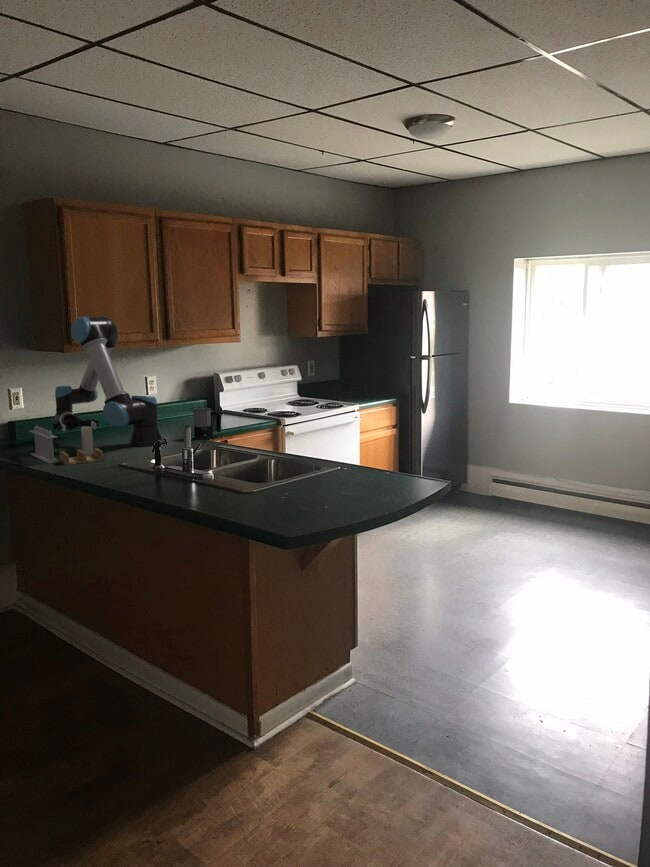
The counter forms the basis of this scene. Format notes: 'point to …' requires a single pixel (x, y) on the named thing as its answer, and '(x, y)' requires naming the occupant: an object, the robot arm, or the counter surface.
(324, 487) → the counter surface
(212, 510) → the counter surface
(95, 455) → the oak rack
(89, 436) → the grey upright block
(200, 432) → the milk frother
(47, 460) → the test tube rack
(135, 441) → the robot arm
